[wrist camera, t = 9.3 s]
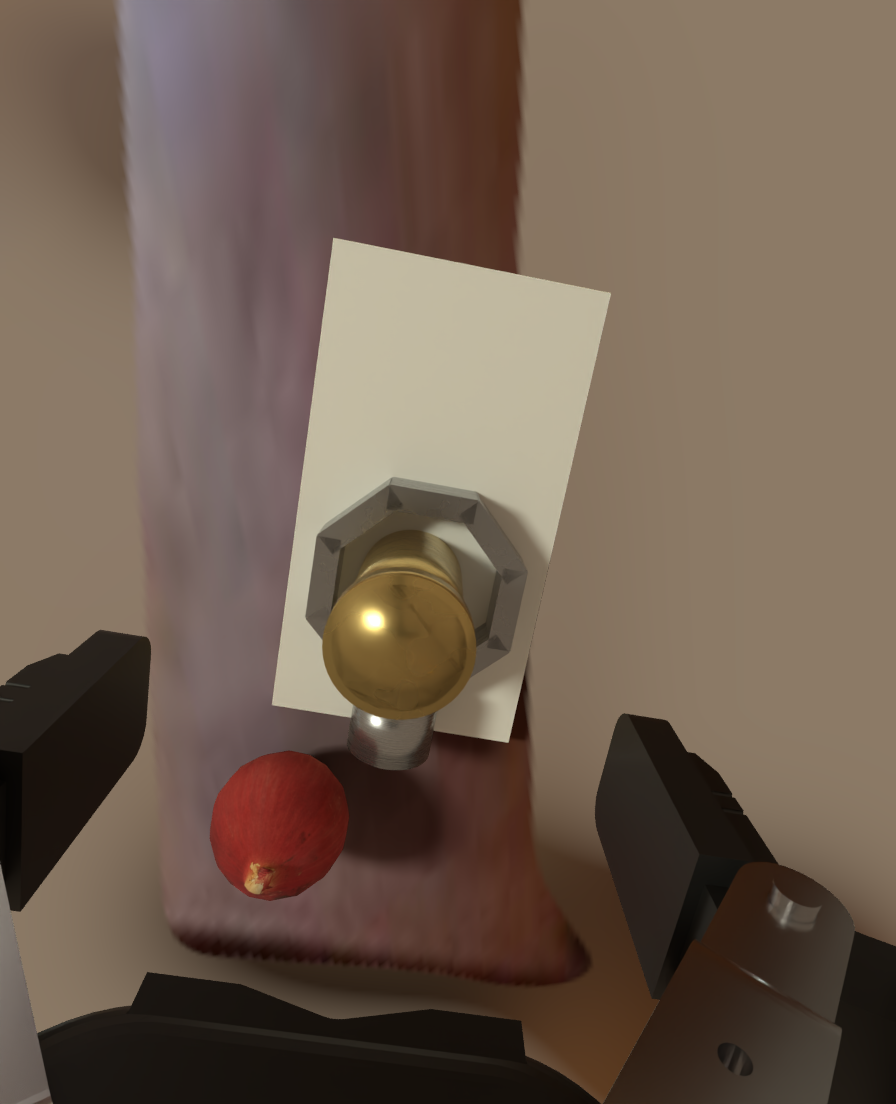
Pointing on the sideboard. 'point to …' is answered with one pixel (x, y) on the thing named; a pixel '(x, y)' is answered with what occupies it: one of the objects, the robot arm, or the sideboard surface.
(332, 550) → the grey octagonal ring
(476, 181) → the sideboard surface
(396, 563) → the knob
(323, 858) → the onion
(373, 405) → the board
